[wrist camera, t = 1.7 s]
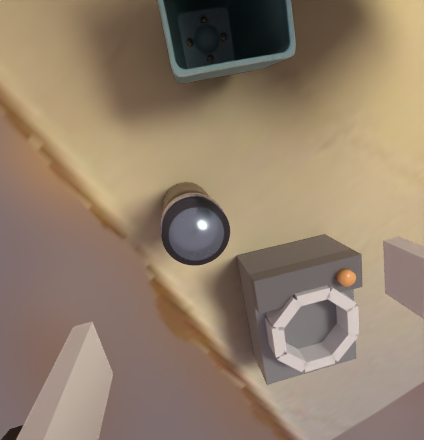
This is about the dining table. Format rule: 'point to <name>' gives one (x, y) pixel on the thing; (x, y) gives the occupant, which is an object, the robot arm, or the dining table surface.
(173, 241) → the lens
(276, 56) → the flower pot
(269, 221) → the dining table surface
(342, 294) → the camera body
